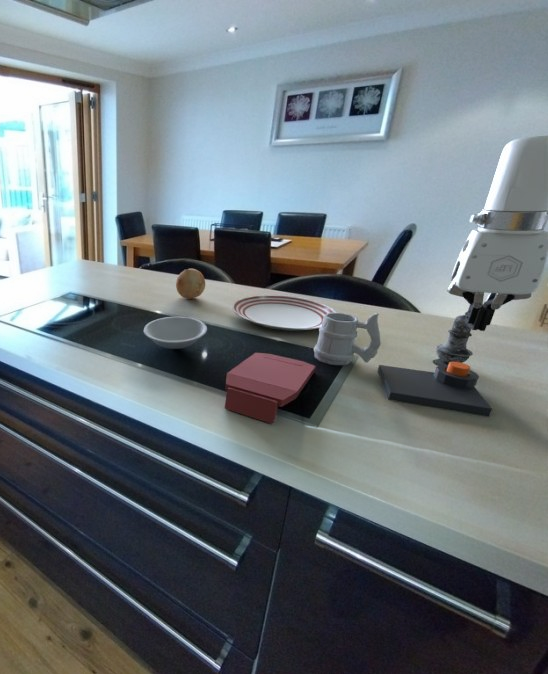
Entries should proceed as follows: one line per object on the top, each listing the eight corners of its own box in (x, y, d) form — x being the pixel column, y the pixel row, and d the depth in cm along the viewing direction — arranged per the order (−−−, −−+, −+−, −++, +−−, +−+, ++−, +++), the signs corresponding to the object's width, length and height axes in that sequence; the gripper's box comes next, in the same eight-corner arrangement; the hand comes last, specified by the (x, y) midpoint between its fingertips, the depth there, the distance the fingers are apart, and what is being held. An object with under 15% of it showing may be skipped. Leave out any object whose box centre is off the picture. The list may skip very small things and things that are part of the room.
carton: (253, 371, 90) (213, 404, 70) (257, 351, 88) (217, 379, 69) (311, 386, 83) (285, 427, 63) (316, 364, 82) (291, 400, 62)
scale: (465, 384, 75) (471, 367, 74) (492, 418, 65) (500, 399, 63) (376, 370, 81) (380, 355, 80) (388, 400, 71) (393, 383, 69)
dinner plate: (350, 341, 95) (353, 329, 94) (233, 333, 102) (234, 321, 101) (322, 307, 119) (324, 296, 118) (229, 302, 126) (230, 292, 125)
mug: (318, 348, 92) (328, 300, 87) (377, 362, 84) (392, 310, 80) (307, 359, 87) (317, 308, 82) (370, 375, 79) (384, 320, 75)
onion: (193, 304, 126) (195, 273, 122) (169, 298, 133) (170, 269, 129) (210, 298, 132) (212, 268, 128) (186, 292, 139) (188, 264, 135)
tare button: (464, 371, 73) (467, 363, 73) (470, 378, 71) (473, 369, 70) (444, 368, 74) (446, 360, 74) (449, 375, 72) (452, 367, 71)
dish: (189, 368, 85) (190, 347, 83) (131, 354, 92) (131, 334, 90) (214, 340, 98) (216, 322, 96) (162, 330, 106) (163, 313, 104)
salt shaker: (434, 356, 86) (452, 305, 82) (469, 365, 82) (490, 311, 77) (427, 364, 83) (445, 311, 78) (463, 374, 79) (484, 318, 74)
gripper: (460, 224, 62) (428, 330, 69) (592, 224, 56) (543, 341, 63) (445, 219, 69) (417, 317, 76) (563, 219, 63) (521, 325, 70)
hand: (475, 327), depth 69 cm, fingers closed
